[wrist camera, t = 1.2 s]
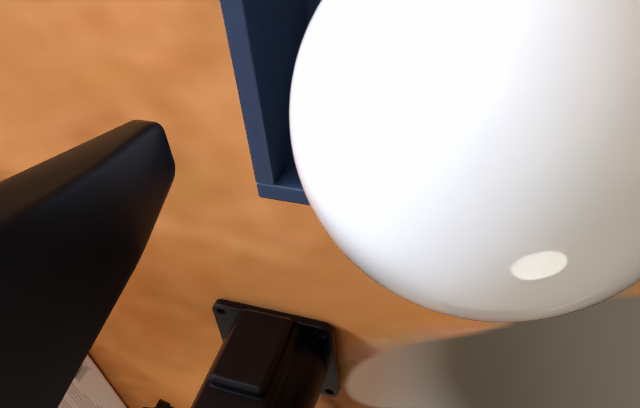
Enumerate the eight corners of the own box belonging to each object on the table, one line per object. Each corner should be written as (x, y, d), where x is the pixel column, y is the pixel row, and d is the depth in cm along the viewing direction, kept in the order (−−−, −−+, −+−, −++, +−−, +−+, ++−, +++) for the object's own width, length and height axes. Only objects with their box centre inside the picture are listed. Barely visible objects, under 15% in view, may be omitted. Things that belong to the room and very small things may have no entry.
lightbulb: (471, 84, 18) (385, 420, 10) (354, -112, 15) (126, 153, 8) (715, -18, 14) (854, 394, 7) (618, -303, 11) (668, -147, 4)
